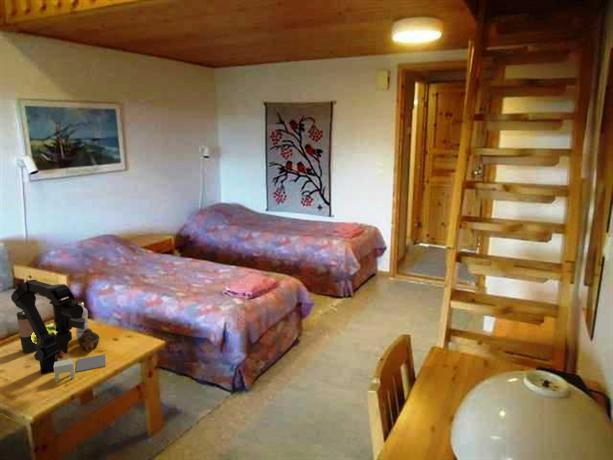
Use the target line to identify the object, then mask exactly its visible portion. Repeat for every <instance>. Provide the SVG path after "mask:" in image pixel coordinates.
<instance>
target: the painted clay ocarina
mask: <svg viewBox="0 0 613 460" xmlns="http://www.w3.org/2000/svg"><path fill="white" fill-rule="evenodd" d="M99 342H100V335H98V333H96V332H94V331H93V330H92V328H87V329H85V330H84V334H82V335H81V336H80V337H79V338H78V340H77V344H78V345H79V347H80V348H81V349H82V350H83V351H85V350H86V351H92V350H93V348H97V347H98V345H99Z"/></svg>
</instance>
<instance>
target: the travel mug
mask: <svg viewBox="0 0 613 460" xmlns="http://www.w3.org/2000/svg"><path fill="white" fill-rule="evenodd" d="M16 318H17V319H16V320H17V325H18V334H19V338H20V343H21V348H22V353H24V354H33V353H36V352H37V347H36V345H37V344H35V343H33V342H32V340H31V335H32V333H33V332H34V331H33V329H32V327H31V325H30V323H29V321H28V319H27V317H26V315H25V313H24V311H23V310H22V311H20V312H19V311H17V313H16Z"/></svg>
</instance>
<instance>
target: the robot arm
mask: <svg viewBox="0 0 613 460" xmlns="http://www.w3.org/2000/svg"><path fill="white" fill-rule="evenodd" d="M36 294H40V295H42V296H43V295H44V296H45V297H46V299H47V300H49V304H50V305H52V311H53V317H54V319H53V321H54V326H55V332H56V333H55V334H54V335H53V334H51V333H50V332H49V330H48V328H47V326H46V324H45V322H44V320H43V318H42V316H41V314H40V312H39V310H38V307H37V306H36V301H37V296H36ZM10 299H11V301H12V302H13V304H14V305H15V306H16V307H17V308H18V309H20V310H22V311H24V313H25V315H26V317H27V319H28V321H29V323H30V325H31V327H32V329H33V331H34V333H35V335H36V337H37V345H36V347H37V351H36V352H34V354H33V357H34V360H35V361H39V365H40V366H39V368H40V373H39V374H41V375H43V374H47V373H54V363H55V362H57V361H59V357H58V356H57V355H59V354H60V352H61V351H62V352H63V354H67V353H68V347H69V343H70V342H71V341H72V339H73V333H72V331H71V330H72V329H73V328H74V329H76V328H80V329H83V328H84V324H85V319H84V318H82V314H83V308H82V306H80V305H78V302H79V301H76V298H75V295H74V293H73V292H72V291H71V289H70V288H69V286H68V285H67V284H65V283H61V284H60V283H58V284H50V283H46V282H44V281H43V282H42V281H38V280H37V279H31V280H27V281H24V282H23V283H22V284H21V285H20V286H19V287H18V288H16V289H15V290H14V291H13V292H12V294H11V296H10Z"/></svg>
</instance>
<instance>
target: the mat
mask: <svg viewBox="0 0 613 460" xmlns="http://www.w3.org/2000/svg"><path fill="white" fill-rule="evenodd" d="M105 367H107V366H106V354H105V353H103V354H98V355H93V356H88V357H82V358H78V359H76V366H75V372H76V373H80V372H85V371H89V370H90V371H91V370H93V369H94V370H95V369H98V368H99V369H100V368H105Z"/></svg>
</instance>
